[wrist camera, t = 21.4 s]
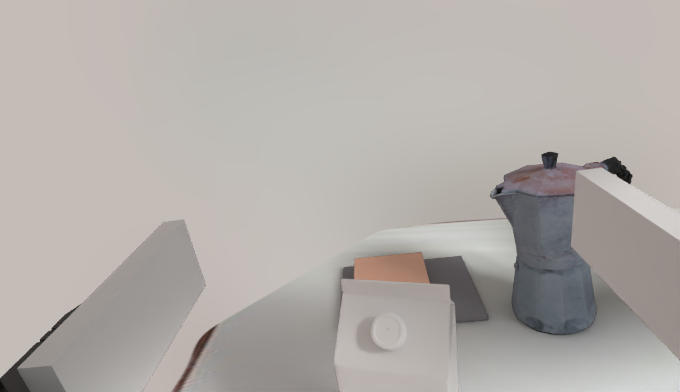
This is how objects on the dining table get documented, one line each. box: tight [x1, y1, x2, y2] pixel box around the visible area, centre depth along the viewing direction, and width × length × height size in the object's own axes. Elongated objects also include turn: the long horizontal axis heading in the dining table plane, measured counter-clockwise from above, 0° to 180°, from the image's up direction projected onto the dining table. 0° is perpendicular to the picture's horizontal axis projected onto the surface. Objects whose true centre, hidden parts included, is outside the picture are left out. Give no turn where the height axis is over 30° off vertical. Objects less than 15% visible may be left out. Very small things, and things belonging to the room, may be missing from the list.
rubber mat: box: [341, 256, 488, 323], centre depth 56 cm, size 18×14×1 cm
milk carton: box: [334, 279, 459, 392], centre depth 30 cm, size 7×7×19 cm
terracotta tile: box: [354, 252, 430, 284], centre depth 55 cm, size 10×2×14 cm
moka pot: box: [490, 152, 632, 334], centre depth 45 cm, size 10×15×20 cm, turn 101°
